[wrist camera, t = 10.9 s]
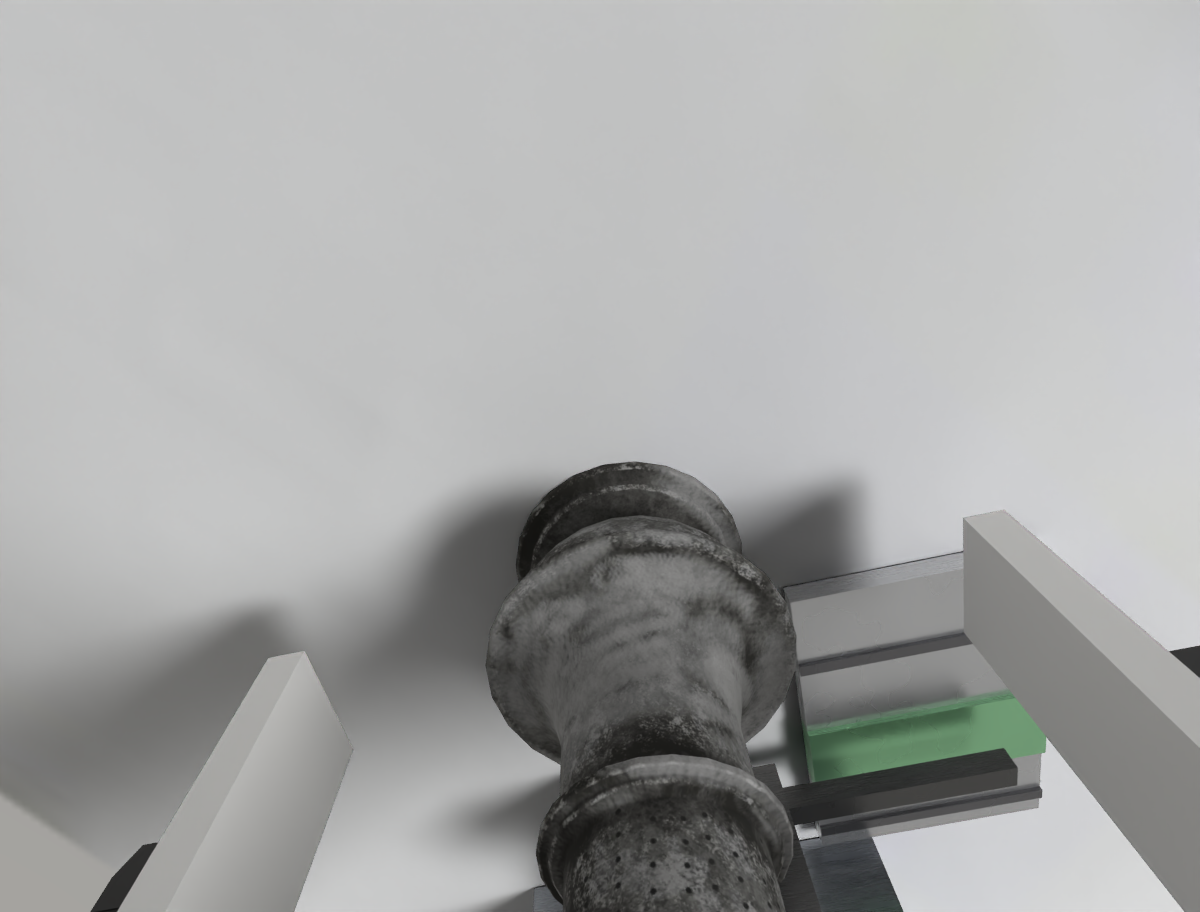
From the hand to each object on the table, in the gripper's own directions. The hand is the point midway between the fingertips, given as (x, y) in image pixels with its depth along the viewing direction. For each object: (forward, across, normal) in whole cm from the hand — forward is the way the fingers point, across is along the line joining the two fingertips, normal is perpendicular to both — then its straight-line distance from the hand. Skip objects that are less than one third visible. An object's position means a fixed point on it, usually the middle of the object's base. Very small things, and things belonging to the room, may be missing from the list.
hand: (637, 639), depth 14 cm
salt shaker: (+3, 0, 0) cm, 3 cm away
